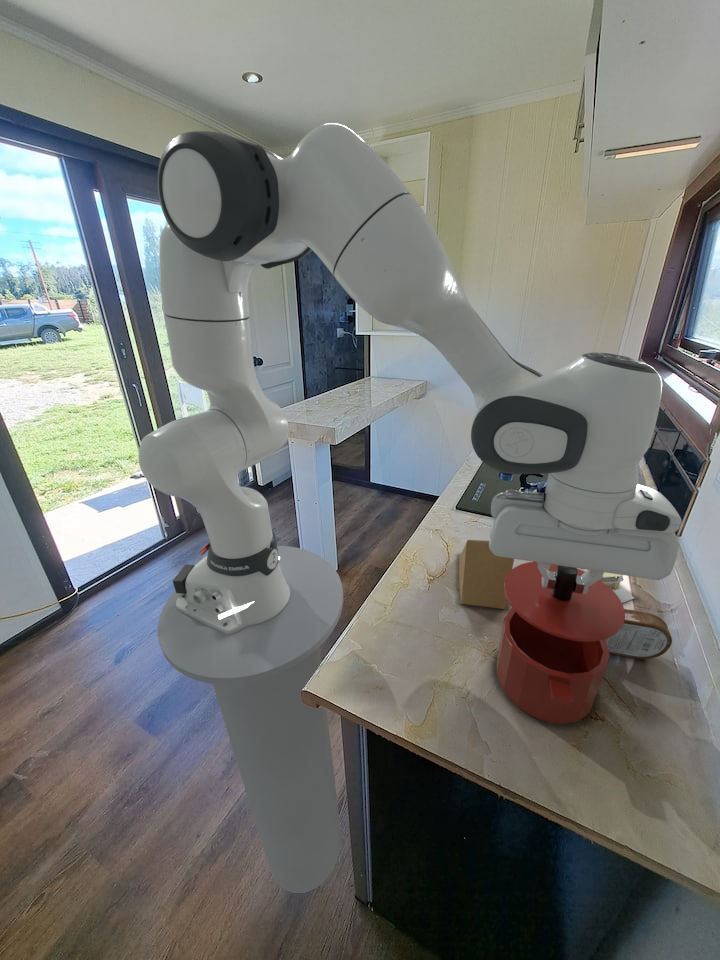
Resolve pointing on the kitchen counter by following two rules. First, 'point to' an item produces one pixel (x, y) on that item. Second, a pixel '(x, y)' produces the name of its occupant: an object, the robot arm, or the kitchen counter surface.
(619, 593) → the stacked layers on plate
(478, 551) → the sandwich container
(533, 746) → the kitchen counter surface
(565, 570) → the lid
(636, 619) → the tin
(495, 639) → the kitchen counter surface
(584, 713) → the pot
